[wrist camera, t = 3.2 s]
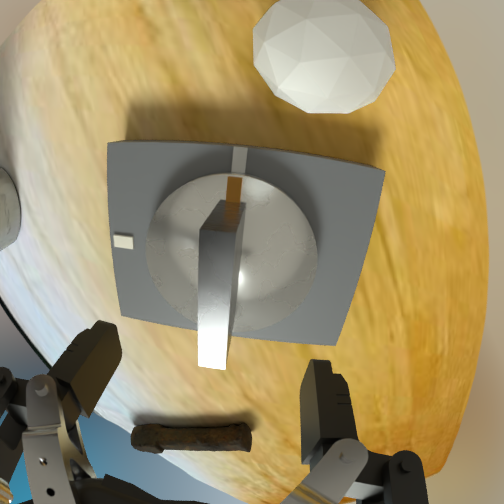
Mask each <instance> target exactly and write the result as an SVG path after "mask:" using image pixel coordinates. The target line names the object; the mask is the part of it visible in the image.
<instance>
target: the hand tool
mask: <svg viewBox="0 0 504 504" xmlns="http://www.w3.org/2000/svg"><path fill="white" fill-rule="evenodd" d="M131 445H132V446H133V447H134V448H135V449H137V450H139V451H143V452H145V451H146V452H152V453H155V454H156V453H162V452H163V451H164V450H189V451H193V450H194V451H237V450H241V451H246V452H250V450H251V445H252V435H251V431H250V429H249V427H248V426H247V425H246V424H245V423H242V424H241V425H240V426H236V425H234V424H231V425H230V427H222V428H192V429H191V428H184V429H177V428H165V427H164V426H162V425H160V424H147V425H141V426H136V427H134V428H133V431H132V433H131Z"/></svg>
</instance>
